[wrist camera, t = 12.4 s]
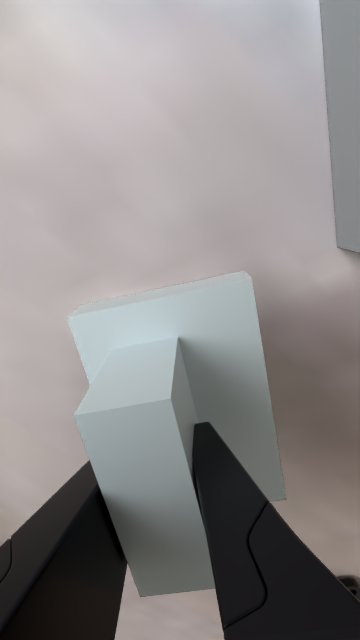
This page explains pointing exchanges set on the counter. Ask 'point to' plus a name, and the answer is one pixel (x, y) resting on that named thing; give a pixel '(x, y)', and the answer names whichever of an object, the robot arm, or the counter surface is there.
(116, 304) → the cover
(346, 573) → the counter surface
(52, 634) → the robot arm
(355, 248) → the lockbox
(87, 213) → the counter surface
